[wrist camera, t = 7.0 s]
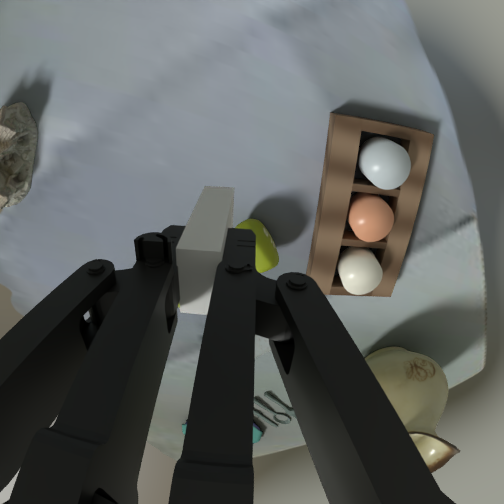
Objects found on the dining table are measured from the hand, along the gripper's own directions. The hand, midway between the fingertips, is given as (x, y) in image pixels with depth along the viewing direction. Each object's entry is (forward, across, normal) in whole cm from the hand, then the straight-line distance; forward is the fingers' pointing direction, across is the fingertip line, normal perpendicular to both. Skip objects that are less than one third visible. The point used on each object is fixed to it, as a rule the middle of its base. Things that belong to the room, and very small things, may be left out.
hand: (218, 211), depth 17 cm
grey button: (+25, +18, -1) cm, 31 cm away
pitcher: (+27, +31, -43) cm, 59 cm away
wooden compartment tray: (+26, +18, -9) cm, 33 cm away
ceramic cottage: (+27, -38, -2) cm, 47 cm away
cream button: (+25, +18, -17) cm, 35 cm away
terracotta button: (+26, +18, -9) cm, 33 cm away
